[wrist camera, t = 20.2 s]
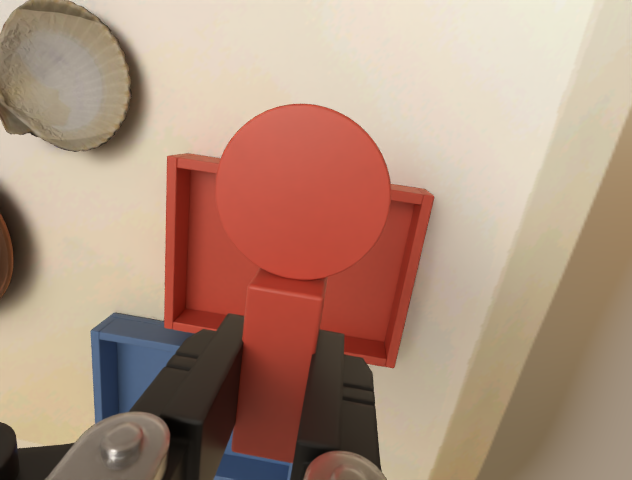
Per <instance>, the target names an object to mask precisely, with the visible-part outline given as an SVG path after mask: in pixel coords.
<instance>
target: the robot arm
mask: <svg viewBox="0 0 632 480" xmlns="http://www.w3.org/2000/svg"><path fill="white" fill-rule="evenodd" d="M243 325H244V316H243V315H237V314H232V313H228V314H227V315H226V317H225V318H224V320H223V321H222V323H221V324H220V326H219V327H218V329H217V330H216V331H213V330H207V329H202V330H200V331H199V332H197V333H195V334H193V335H192V336H190V337H188V338H186V340H185V341H184V342H183V343H182V345H181V346H180V347H179V348H178V350H177V351H176V353H175V355H173V356H172V357H171V359H170V360H169V361H168V362H167V364H166V367H163V369H162V370H161V371H160V372H159V374H158V375H157V376H156V377H155V379H154V380H153V381H152V383H151V384H150V385H149V386H148V388H147V389H146V390H145V391H144V393H143V394H142V395H141V396H140V398H139V399H138V400H137V401H136V403H135V404H134V405H133V407H132V408H131V409H130V410H129V412H125V413H120V414H116V415H113V416H110V417H108V418H105V419H103V420H101V421H99V422H98V423H96V424H95V425H93V426H91V427H90V428H89V429H88V430H87V431H85V432H84V433H83V434H82V435H81V436H80V437H79V439H78V440H77V441H76V442H75V443H71V444H64V445H53V446H42V447H30V448H19V449H17V441H16V435H15V432H14V430H13V429H12V428H11V427H10V426H8V425H7V424H5V423H1V422H0V480H214V477H215V474H216V472H217V469H218V467H219V464H220V462H221V459H222V457H223V454H224V452H225V449H226V447H227V444H228V441H229V439H230V436H231V434H232V431H233V429H234V426H235V422H236V412H237V402H238V392H239V382H240V372H241V362H242V352H243V341H242V335H243ZM344 339H345V334H343V333H338V332H332V331H326V330H321V329H319V335H318V341H317V347H316V353H315V354H312V357H311V362H310V368H309V374H308V379H307V385H306V390H305V396H304V402H303V407H302V413H301V419H300V424H299V430H298V435H297V441H296V447H295V453H294V459H293V465H292V471H291V478H290V480H387V479H386V477H385V476H384V474H383V473H382V470H381V465H380V455H379V444H378V432H377V420H376V409H375V397H374V392H373V391H374V385H373V374H372V371H371V370H370V368H369V367H368V365H367V363H366V362H365V360H364V359H363V358H362V357H356V356H350V355H345V354H344Z"/></svg>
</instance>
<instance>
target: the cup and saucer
mask: <svg viewBox="0 0 632 480" xmlns="http://www.w3.org/2000/svg"><path fill="white" fill-rule="evenodd" d="M12 272H13V247H12V242H11V238H10V234H9V231H8V228H7V226H6V223H5V221H4V219H3V217H2V215H1V213H0V298H1V297H2V296H3V295H4V293H5V292H6V290H7V288H8V286H9V283H10V280H11V277H12Z"/></svg>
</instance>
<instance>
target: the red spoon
mask: <svg viewBox="0 0 632 480" xmlns="http://www.w3.org/2000/svg"><path fill="white" fill-rule="evenodd" d="M215 198H216V206H217V210H218V214H219V218H220V220H221V223H222V225H223V228H224V230H225V231H226V233H227V235H228V237H229V238H230V240H231V241H232V243H233V244H234V245H235V247H236V248H237V249H238V250H239V251H240V252H241V253H242V254H243V255H244V256H245V257H246V258H247V259H248V260H250V261H251V262H252V263H254V264H255V265H257V266H258V267H260V268H259V269H258V271H257V272H256V274H255V276H254V277H253V279H252V280H251V282H250V283H249V285H248V287H247V295H246V305H245V315H244V325H243V335H242V341H243V352H242V362H241V372H240V382H239V392H238V402H237V412H236V422H235V426H234V429H233V436H232V446H231V448H232V451H233V452H236V453H241V454H246V455H252V456H257V457H262V458H267V459H273V460H278V461H283V462H288V463H293V459H294V453H295V447H296V441H297V435H298V430H299V424H300V419H301V413H302V407H303V402H304V396H305V390H306V385H307V379H308V374H309V368H310V362H311V357H312V354H315V353H316V347H317V341H318V335H319V329H320V323H321V317H322V311H323V305H324V299H325V292H326V285H327V278H328V277H329V276H333V275H335V274H338V273H340V272H343V271H345V270H346V269H348V268H350V267H352V266H353V265H355V264H356V263H357V262H359V261H360V260H361V259H362V258H363V257H364V256H365V255H366V254H367V253H369V251H370V250H371V249H372V248H373V246H374V245H375V244H376V242H377V241H378V239H379V237H380V236H381V234H382V232H383V230H384V227H385V225H386V222H387V219H388V215H389V211H390V204H391V184H390V177H389V173H388V169H387V165H386V163H385V161H384V158H383V156H382V154H381V152H380V150H379V148H378V147H377V145H376V143H375V142H374V141H373V140H372V138H371V137H370V136H369V134H368V133H367V132H366V131H365V130H364V129H362V128H361V127H360V126H359V125H358V124H357V123H355V122H354V121H353V120H351V119H350V118H349V117H347V116H345V115H343V114H341V113H339V112H337V111H335V110H332V109H329V108H327V107H322V106H318V105H312V104H289V105H284V106H279V107H276V108H273V109H270V110H267V111H265V112H263V113H261V114H259V115H257V116H255V117H254V118H253V119H251V120H250V121H248V122H247V123H246V124H245V125H244V126H243V127H242V128H240V129H239V130H238V131H237V133H236V134H235V135H234V136H233V138H232V139H231V140H230V142H229V143H228V145H227V147H226V148H225V150H224V152H223V154H222V157H221V159H220V162H219V165H218V169H217V173H216V181H215Z"/></svg>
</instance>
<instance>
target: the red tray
mask: <svg viewBox="0 0 632 480" xmlns="http://www.w3.org/2000/svg"><path fill="white" fill-rule="evenodd" d="M220 159H221V158H215V157H208V156H201V155H195V154H188V153H186V154H178V155H171V156H167V195H166V253H165V312H164V328H167V329H173V330H178V331H183V332H189V333H197V332H199V331H200V330H202V329H207V330H213V331H216V330H217V329H218V327H219V326H220V324H221V323H222V321H223V320H224V318H225V317H226V315H227V314H228V313H232V314H237V315H243V316H244V315H245V305H246V295H247V287H248V285H249V283H250V282H251V280H252V279H253V277H254V276H255V274H256V272H257V271H258V269H259V268H260V267H258V266H257V265H255V264H254V263H252V262H251V261H250V260H248V259H247V258H246V257H245V256H244V255H243V254H242V253H241V252H240V251H239V250H238V249H237V248H236V247H235V245H234V244H233V243H232V241H231V240H230V238H229V237H228V235H227V233H226V231H225V230H224V228H223V225H222V223H221V220H220V218H219V214H218V210H217V206H216V198H215V181H216V173H217V169H218V165H219V162H220ZM433 201H434V196H433V195H432V194H431V193H429V192H428V191H427V190H426V189H422V188H415V187H408V186H402V185H395V184H391V204H390V211H389V215H388V219H387V222H386V225H385V227H384V230H383V232H382V234H381V236H380V237H379V239H378V241H377V242H376V244H375V245H374V246H373V248H372V249H371V250H370V251H369V253H367V254H366V255H365V256H364V257H363V258H362V259H361V260H360V261H359V262H357V263H356V264H355V265H353V266H352V267H350V268H348V269H346V270H345V271H343V272H340V273H338V274H335V275H333V276H329V277H328V278H327V285H326V292H325V299H324V305H323V311H322V317H321V323H320V329H321V330H326V331H332V332H338V333H343V334H345V339H344V354H345V355H350V356H356V357H362V358H363V359H364V360H365V362H366V363H367V364H372V365H377V366H383V367H389V368H394V367H395V363H396V359H397V354H398V350H399V346H400V341H401V337H402V333H403V329H404V324H405V320H406V316H407V312H408V307H409V303H410V299H411V294H412V290H413V286H414V282H415V277H416V273H417V269H418V265H419V260H420V256H421V252H422V248H423V243H424V239H425V235H426V230H427V226H428V222H429V218H430V213H431V209H432V205H433Z"/></svg>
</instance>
